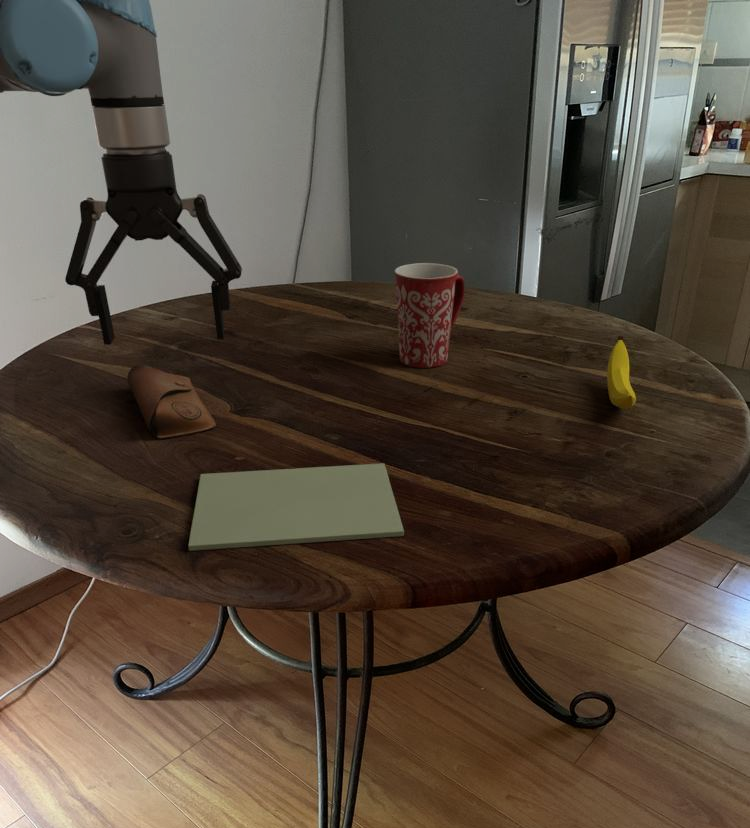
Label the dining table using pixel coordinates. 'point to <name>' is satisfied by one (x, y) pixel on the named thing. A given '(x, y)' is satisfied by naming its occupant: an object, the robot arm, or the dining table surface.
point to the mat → (294, 507)
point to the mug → (427, 311)
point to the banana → (620, 377)
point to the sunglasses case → (168, 403)
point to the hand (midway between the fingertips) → (165, 338)
